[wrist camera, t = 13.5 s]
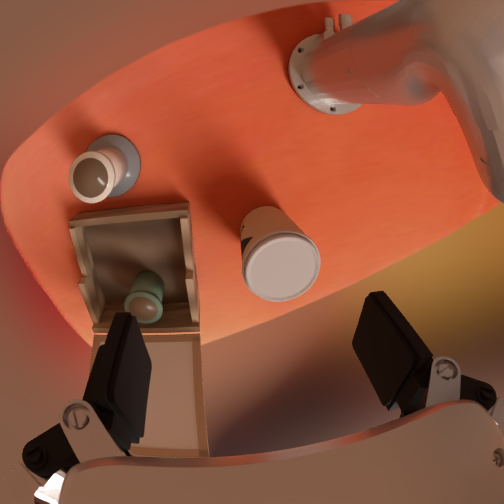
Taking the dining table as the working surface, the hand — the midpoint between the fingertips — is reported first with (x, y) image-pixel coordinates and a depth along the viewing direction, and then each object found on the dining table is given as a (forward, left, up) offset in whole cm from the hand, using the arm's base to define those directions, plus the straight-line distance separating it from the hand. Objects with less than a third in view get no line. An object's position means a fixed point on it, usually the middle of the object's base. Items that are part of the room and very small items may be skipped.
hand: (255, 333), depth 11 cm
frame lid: (+26, -14, -14) cm, 32 cm away
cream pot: (-2, -16, -30) cm, 34 cm away
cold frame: (+13, -14, -30) cm, 36 cm away
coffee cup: (+9, +6, -31) cm, 32 cm away
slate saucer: (-2, -16, -30) cm, 34 cm away
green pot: (+17, -13, -29) cm, 36 cm away
